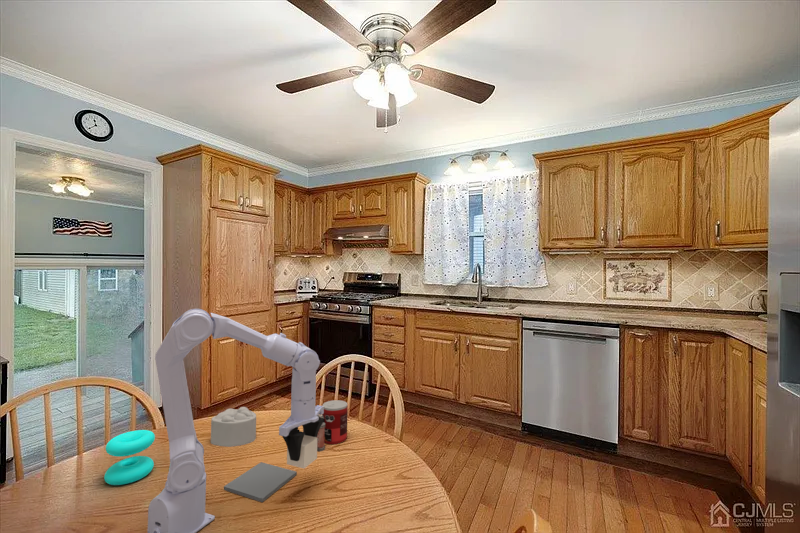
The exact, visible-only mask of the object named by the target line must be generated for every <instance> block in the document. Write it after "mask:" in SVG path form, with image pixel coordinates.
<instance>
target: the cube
mask: <svg viewBox="0 0 800 533" xmlns="http://www.w3.org/2000/svg"><path fill="white" fill-rule="evenodd" d="M317 459H318V451H317V437H312V436H308V435H304V437H303V440H302V444H301V452H300V458H299V460H298V461H293V460H290V455H289V451H288V448H287V447H286V465H289V466H293V467H295V468H301V469H306V468H307V467H308V466H309V465H311V464H312V463H313V462H314V461H315V460H317Z"/></svg>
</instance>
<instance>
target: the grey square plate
mask: <svg viewBox="0 0 800 533" xmlns="http://www.w3.org/2000/svg"><path fill="white" fill-rule="evenodd" d="M297 474H298V473H297V470H292V469H288V468H286V467H281V466H277V465H274V464H270V463H267V462H262V461H261V462H259V463H258V464H255V465H254V466H253V467H251V468H250V469H249V470H246V471H245V472H244V473H242V474H241V475H239V476H237V477H236V478H234V479H233V480H230V482H228V483H226V484H225V485H224V486H223V490H224V491H227V492H230V493H232V494H235V495H239V496H242V497H245V498H248V499H250V500H254V501H257V502H261V503H264V502H265V501H267V499H269V498H270V497H271V496H272V495H274V494H275V493H276V492H277V491H279V490H280V489H281V488H282V487H283V486H285V485H286V484H287V483H288V482H290V481H291V480H292V479H294V478H295V477H296V476H297Z"/></svg>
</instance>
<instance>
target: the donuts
mask: <svg viewBox="0 0 800 533" xmlns="http://www.w3.org/2000/svg"><path fill="white" fill-rule="evenodd" d="M155 439H156V434H155V433H154V432H153V431H152V430H148V429H138V430H131V431H127V432H124V433H120V434H118V435H116V436H114V437H113V438H111V439H110V440H108V442H107V443H106V445H105V452H106V453H107V454H108V455H110V456H112V457H117V458H118V457H126V458H123V459H122V460H118V461H117V462H115V463H113V464H112V465H111V466H109V468H107V469H106V471H105V473H104V477H103V478H104V482H105V483H107V484H108V485H111V486H123V485H128V484H132V483H135V482H136V481H139V480H142V479H143V478H145V477H146V476H147V475H149V474H150V473H151V472H152V471H153V469H154V466H155V463H154V460H153V458H151V457H150V456H147V455H137V454H139V453H141V452H144V451H145V450H147V449H149V447H150V446H152V445H153V443H154V442H155ZM132 455H134V456H132ZM128 456H129V457H128Z"/></svg>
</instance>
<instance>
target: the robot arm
mask: <svg viewBox="0 0 800 533" xmlns="http://www.w3.org/2000/svg"><path fill="white" fill-rule="evenodd" d="M211 336H212V339H213V340H216V339H222V338H225V337H227V338H231V339H234V340H237V341H239V342H240V343H241V342H242V343H245V344H247V345H250V346H251V347H255V348H258V349H260V350H261V355H262V356H263V357H264V358H266V359H269V360H271V361H274V362H276V363H279V364H281V365H284V366H286V367H292V372H291V373H292V376H291V397H290V398H291V399H290V400H291V401H290V405H291V406H290V416H289V417H288V418H287V419H286V420H285V422H284V423H283V424H281V425H279V426H278V428H279V429H278V435H279V436H281V437H282V439H283V440H284V443H285V444H286V449H287V448H288V451H289V455H290V460H293V461H298V460H299V458H300V452H301V444H302V440H303V437H304V435H308V436H312V437H317V434H318V432H319V429H320V427H321V425H322V423H323V418H320V417H318V415H322V414H324V406H323V405H319V404H317V405H316V400H317V399H316V396H317V395H316V394H317V393H316V392H317V390H316V388H317V377H316V376H317V370H318V368H319V367H320V364H321V360H320V358H319V355H318V354H317V352H316V351H315V350H313V349H311V348H310V347H308V346H306V345H305V344H304V343H303V342H301V341H299V342H296V341H294V340H293V339H289V338H287V335H286V334H285V333H282V332H280V333H279V334H278V333H272V334H269V335H266V334H264V333H261V332H259V331H258V330H255V329H252V328H251V327H248V326H247V325H244V324H242V323H240V322H237V321H236V320H234V319H233V318H229V317H227V316H223V315H220V314H217V313H213V312H210V314H209V312H207V310H204V309H201V308H191V309H188V310H187V311H185V312H184V313H183V314H181V315H180V316H179V317H177V319H176V320H174V321H173V323H172V325H171V327H170V328H169V330H168V332H167V334H166V335H165V337H164V338H163V340H162V342H161V344H160V345H159V347H158V349H157V350H156V352H155V356H154V357H155V358H154V360H155V366H156V373H157V377H158V383H159V390H160V396H161V403H162V407H163V414H164V419H165V424H166V432H167V438H168V445H169V446H168V447H169V448H168V450H169V466H168V467H169V469H168V472H167V477H166V481H165V484H164V488H163V489H162V491H160V493H159V494H157V495H156V496H155V497H153V499H152V500H151V501H150V502H149V503H148V504H149V505H148V508H147V533H197V532H199V531H200V530H202V529H203V528H205V527H206V526H208V524H210V523H212V521H214V520H215V519H216V518H215V517H216V515H213V514H210V513H208V512H206V494H207V473H206V467H205V463H204V462H205V461H204V455H205V449H204V448H205V447H204V445H203V444H202V443H201V442H200V440H198V436H197V431H196V429H195V423H194V417H193V416H194V415H193V411H192V405H191V397H190V392H189V386H188V380H187V374H186V369H185V361H184V359H185V358H186V356H187V355H188V354H189V353H190V352H191V351H192V350H193V349H194V348H195V347H196V346H198V345H200V344H201V343H203V342H204V341H205V342H206V340H208V339H209V337H211ZM301 426H302V431H301V430H300V429H299V428H300V427H301ZM303 431H304V432H303Z"/></svg>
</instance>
